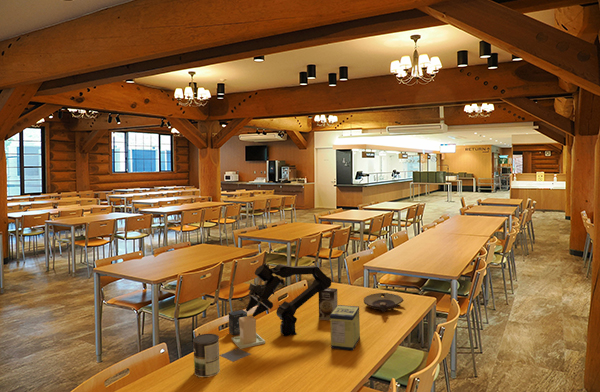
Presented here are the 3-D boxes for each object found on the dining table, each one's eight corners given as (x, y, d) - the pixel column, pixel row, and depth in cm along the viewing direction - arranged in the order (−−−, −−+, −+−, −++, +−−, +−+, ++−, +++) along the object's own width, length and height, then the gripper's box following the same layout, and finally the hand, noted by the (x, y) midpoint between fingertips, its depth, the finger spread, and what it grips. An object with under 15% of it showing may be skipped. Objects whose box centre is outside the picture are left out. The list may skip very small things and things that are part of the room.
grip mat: (237, 348, 200) (237, 348, 200) (251, 354, 193) (251, 354, 193) (219, 356, 193) (219, 355, 193) (233, 362, 186) (233, 361, 186)
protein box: (360, 338, 208) (359, 305, 207) (353, 351, 193) (352, 316, 192) (338, 336, 212) (338, 304, 211) (330, 348, 197) (329, 314, 196)
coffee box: (318, 319, 235) (317, 290, 234) (322, 315, 241) (321, 287, 240) (334, 321, 232) (333, 291, 231) (338, 317, 238) (337, 288, 237)
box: (233, 336, 215) (232, 315, 215) (229, 332, 220) (228, 312, 220) (248, 332, 220) (247, 311, 219) (243, 329, 224) (242, 309, 224)
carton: (252, 337, 211) (251, 315, 211) (256, 341, 206) (256, 319, 205) (239, 340, 208) (238, 317, 208) (243, 344, 203) (242, 321, 202)
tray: (255, 335, 215) (255, 332, 215) (265, 344, 204) (265, 340, 204) (231, 340, 210) (231, 337, 210) (239, 349, 199) (239, 346, 199)
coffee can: (192, 379, 172) (190, 344, 171) (196, 367, 182) (194, 334, 181) (219, 377, 173) (217, 342, 172) (221, 365, 183) (220, 332, 182)
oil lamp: (408, 304, 257) (408, 291, 257) (390, 319, 232) (390, 305, 231) (373, 299, 269) (373, 286, 269) (352, 313, 244) (352, 300, 243)
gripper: (251, 273, 216) (231, 299, 212) (265, 281, 200) (243, 309, 196) (267, 286, 220) (247, 312, 216) (282, 295, 204) (261, 323, 199)
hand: (249, 313), depth 207 cm, fingers open, 9 cm apart
